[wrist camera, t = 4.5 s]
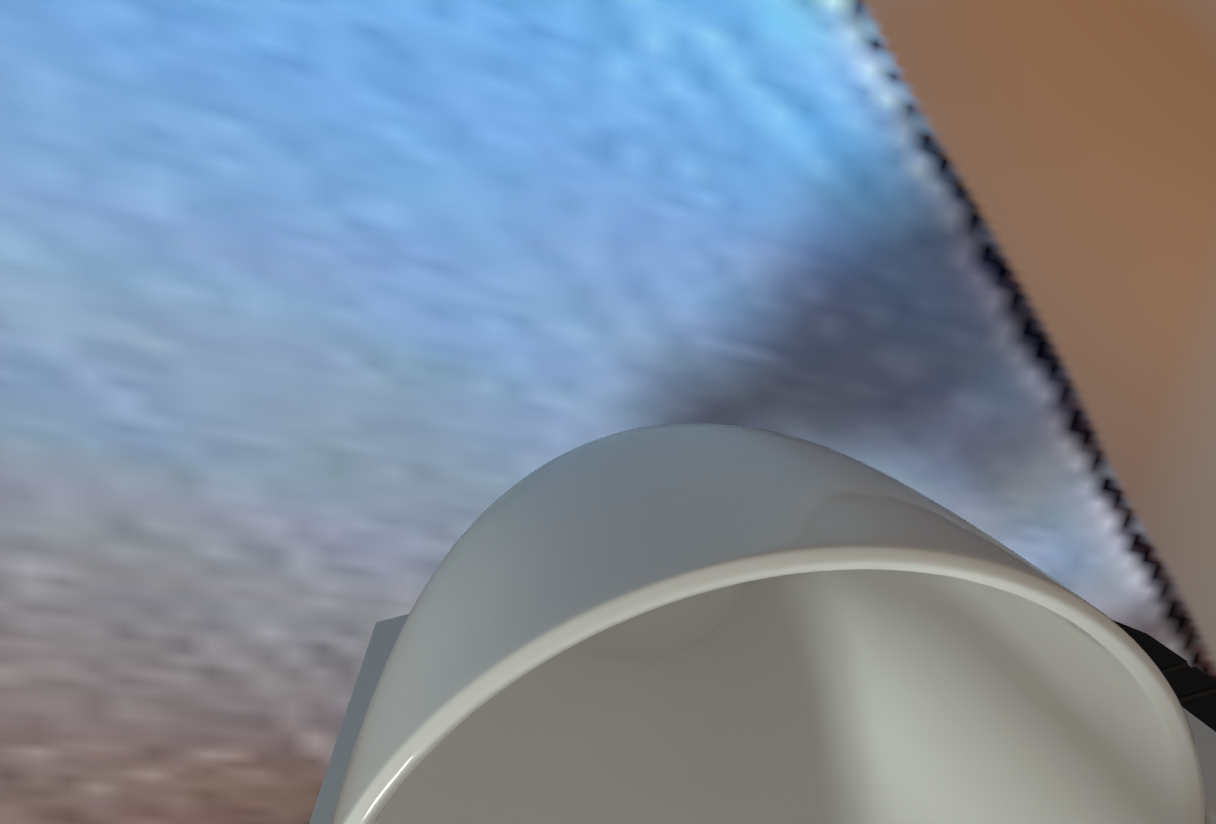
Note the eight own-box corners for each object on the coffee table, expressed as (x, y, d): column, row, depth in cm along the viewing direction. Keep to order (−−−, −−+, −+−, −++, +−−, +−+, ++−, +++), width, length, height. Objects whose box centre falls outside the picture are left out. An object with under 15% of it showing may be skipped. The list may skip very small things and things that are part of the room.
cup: (675, 247, 10) (932, 310, 4) (976, 638, 13) (1397, 1025, 7) (316, 558, 11) (49, 1035, 5) (680, 863, 14) (819, 1403, 8)
